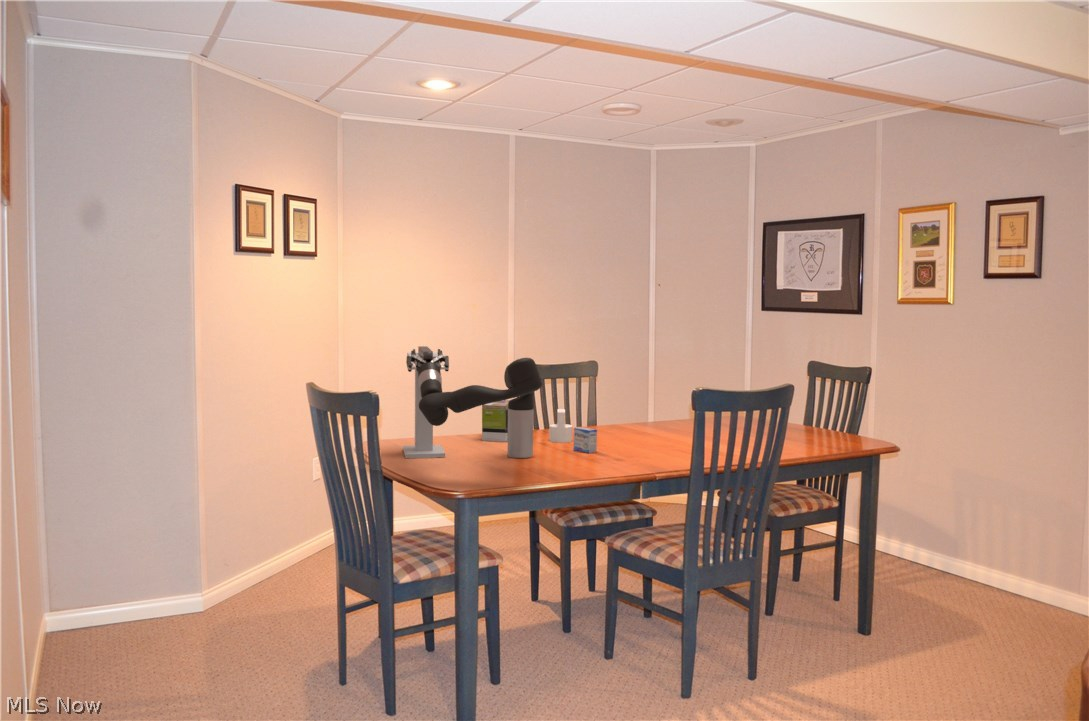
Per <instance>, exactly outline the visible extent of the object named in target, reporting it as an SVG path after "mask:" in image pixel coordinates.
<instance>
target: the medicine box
mask: <svg viewBox="0 0 1089 721" xmlns="http://www.w3.org/2000/svg"><path fill="white" fill-rule="evenodd" d="M597 444H598V429H595V428H590V427H589V428H588V427H584V426H583V427H582V426H577V427H574V428H573V451H574V452H578V451H580V452H579V453H584V452H586V454H592V452H594V453H596V452H597V448H598V447H597Z"/></svg>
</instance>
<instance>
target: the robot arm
mask: <svg viewBox="0 0 1089 721" xmlns="http://www.w3.org/2000/svg"><path fill="white" fill-rule="evenodd" d="M410 353H411V356H407V355H406V361H405V362H406V363H405V364H406V368H407V372H409V373H410V372H412V370H413V371H415V370H417V371H418V379H419V386H420V391H421V397H422V399H421V400H420V402H419V409H420V410H421V412H422V413H423V415H424V416H425V418H426V419H427V421H428V422H429V423H430V424H431V425H433V427H434V426H435V427H439V426H441V425H443V424H445V423H446V422H447V420H448V417H449V410H451V411H452V412H453V413H455V414H460V413H463V412H466V411H468V410H472V409H473V408H474V409H475V408H477V407H482V405H484V404H489V403H493V402H498V401H503V400H510V401H509V402H508V440H507V457H510V458H512V459H513V458H515V459H526V458H532V457H533V456H534V418H535V417H534V415H535V414H534V411H535V410H534V408H535V407H534V406H535V405H534V404H535V402H534V395H535V392H537V391H538V390H540V389H541V388H542V387H543V381H542V378H541V375H540V373H539V370H538V366H537V364H536V362H535V360H534V359H533V358H532V357H521V358H517V359H516V360H513V361H512V362H510V363H509V364H508V365H507V366H506V367H505V370H504V375H503V378H504V384H505V387H506V388H507V389H497V388H493V387H488V386H484V385H478V384H477V385H476V384H474V385H473V384H472V385H467V386H464V387H462V388H459V389H456V390H454V391H444V392H443V388H442V387H443V386H442V385H443V380H442V372H441V370H444V371H445V372H449V370H450V369H449V368H450V362H449V361H450V360H449V356H448V355H445V356H444V355H443V350H441V349H439V348H437V353H438V357H436V358H435V359H422V358H420V357H417V356H416V353H417V352H416V349H415V348H413V349H412V350H411V351H410ZM442 363H443V364H442ZM441 364H442V365H441ZM415 365H416V366H415Z"/></svg>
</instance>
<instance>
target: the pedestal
mask: <svg viewBox="0 0 1089 721" xmlns="http://www.w3.org/2000/svg"><path fill="white" fill-rule="evenodd" d="M407 356H411V352H407V355H406V357H407ZM416 356H417V357H420V358H422V357H421V356H420V355H419V353H418V352H416ZM436 357H438V352H433V359H435V358H436ZM422 359H423V358H422ZM414 365H415V364H414ZM415 366H416V365H415ZM421 399H422V397H421V391H420V386H419V379H418V371H417V370H414V445H403V446H402V451H404V452H403V455H404V458H409V459H436V458H437V459H439V458H438V457H445V458H446V451H445V450H444V449H443V447H442V444H434V425H431V424H430V423H429V422H428V421H427V419H426V418H425V416H424V415H423V413H422V412H421V410H420V409H419V402H420V400H421Z"/></svg>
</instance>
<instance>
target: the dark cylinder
mask: <svg viewBox="0 0 1089 721" xmlns="http://www.w3.org/2000/svg"><path fill="white" fill-rule="evenodd" d="M417 348H418V349H417V351H418V352H417V353H419V355H420V356H421V357H422V358H423V359H433V353H434V352H433V350H432V349H431V348H430V347H429V346H426V345H425V346H424V345H423V346H417Z"/></svg>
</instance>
